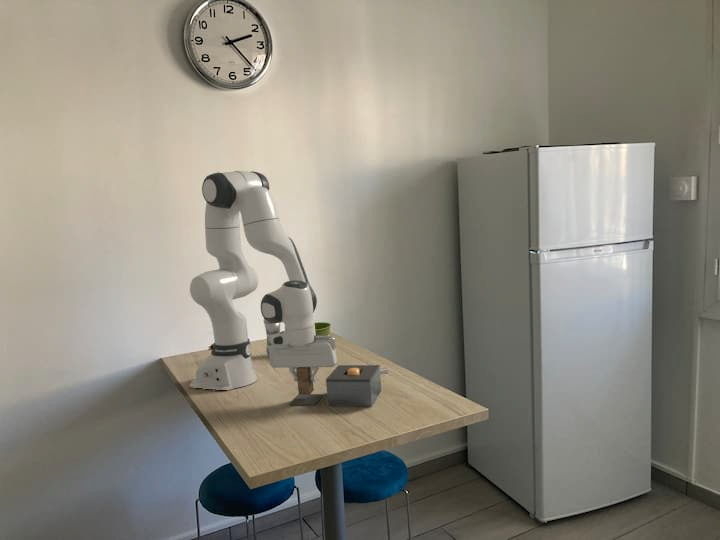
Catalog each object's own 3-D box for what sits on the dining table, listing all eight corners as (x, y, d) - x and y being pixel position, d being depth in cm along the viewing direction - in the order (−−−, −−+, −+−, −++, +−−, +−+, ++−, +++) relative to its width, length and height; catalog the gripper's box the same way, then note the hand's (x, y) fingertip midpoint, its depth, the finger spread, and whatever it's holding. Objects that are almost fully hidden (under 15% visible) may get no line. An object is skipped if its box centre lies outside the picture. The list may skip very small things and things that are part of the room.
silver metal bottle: (275, 352, 226) (270, 303, 223) (287, 354, 222) (282, 304, 219) (263, 357, 220) (258, 307, 218) (276, 359, 216) (270, 307, 214)
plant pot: (298, 358, 215) (295, 329, 213) (310, 349, 226) (307, 322, 225) (327, 359, 211) (325, 329, 210) (338, 350, 223) (335, 322, 221)
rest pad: (289, 405, 167) (289, 403, 167) (298, 395, 174) (298, 393, 174) (315, 405, 165) (314, 404, 165) (323, 395, 172) (323, 394, 172)
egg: (347, 391, 167) (345, 371, 166) (350, 387, 170) (348, 367, 169) (359, 391, 166) (357, 371, 165) (362, 387, 169) (360, 367, 169)
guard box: (328, 405, 164) (325, 379, 163) (340, 390, 176) (338, 365, 175) (372, 406, 161) (369, 379, 159) (381, 390, 173) (379, 365, 172)
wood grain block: (302, 390, 171) (300, 364, 170) (313, 390, 170) (311, 364, 169) (298, 394, 168) (296, 368, 167) (310, 394, 167) (307, 368, 166)
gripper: (337, 332, 167) (341, 377, 169) (273, 333, 173) (277, 377, 174) (331, 337, 161) (335, 384, 163) (264, 339, 166) (269, 384, 168)
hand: (305, 381), depth 169 cm, fingers closed on wood grain block, 3 cm apart
